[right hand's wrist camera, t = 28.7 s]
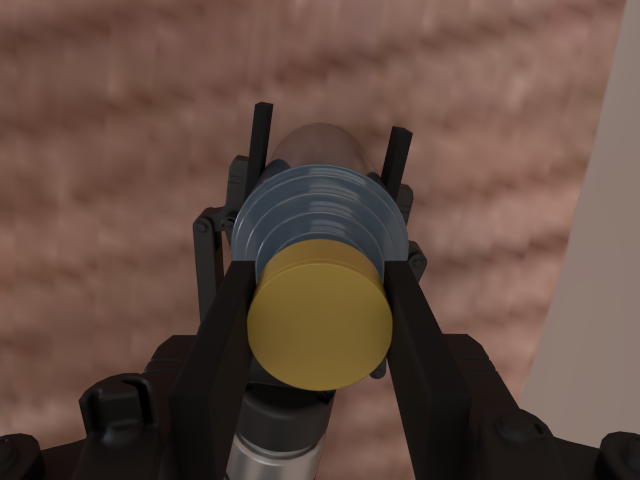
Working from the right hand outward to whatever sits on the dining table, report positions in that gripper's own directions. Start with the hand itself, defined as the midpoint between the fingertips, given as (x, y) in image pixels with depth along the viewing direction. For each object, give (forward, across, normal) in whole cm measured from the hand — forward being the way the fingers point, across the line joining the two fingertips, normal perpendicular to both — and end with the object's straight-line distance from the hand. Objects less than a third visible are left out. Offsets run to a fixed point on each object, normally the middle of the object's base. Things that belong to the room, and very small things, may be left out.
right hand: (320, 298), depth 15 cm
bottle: (+20, 0, 0) cm, 20 cm away
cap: (-2, 0, 0) cm, 2 cm away
